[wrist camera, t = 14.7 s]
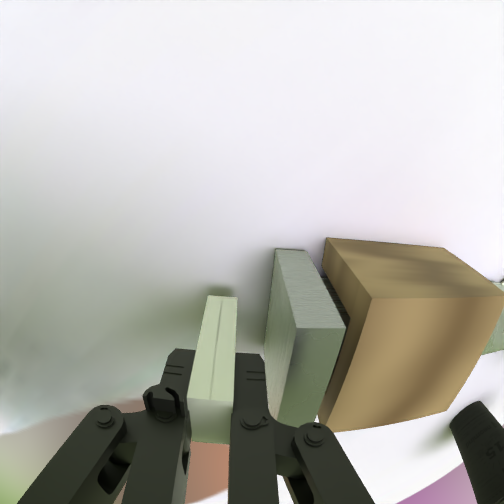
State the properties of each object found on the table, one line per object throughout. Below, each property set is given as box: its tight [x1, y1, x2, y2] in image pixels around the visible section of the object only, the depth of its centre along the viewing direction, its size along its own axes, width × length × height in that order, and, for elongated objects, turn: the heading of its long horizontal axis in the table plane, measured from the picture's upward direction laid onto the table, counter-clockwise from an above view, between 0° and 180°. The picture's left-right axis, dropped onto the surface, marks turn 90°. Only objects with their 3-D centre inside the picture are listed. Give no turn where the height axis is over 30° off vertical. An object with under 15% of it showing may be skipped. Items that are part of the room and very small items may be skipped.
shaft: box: [263, 249, 504, 428], centre depth 13 cm, size 18×6×7 cm, turn 86°
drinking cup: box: [450, 401, 504, 504], centre depth 14 cm, size 8×8×20 cm
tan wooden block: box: [317, 238, 504, 433], centre depth 14 cm, size 8×8×6 cm
